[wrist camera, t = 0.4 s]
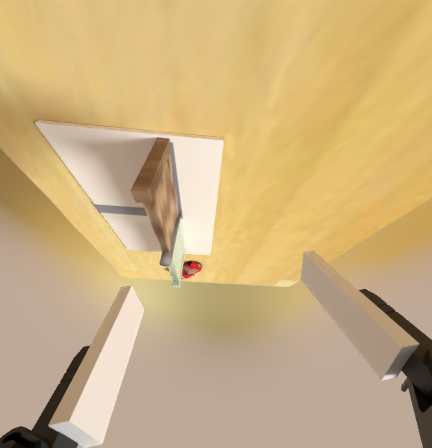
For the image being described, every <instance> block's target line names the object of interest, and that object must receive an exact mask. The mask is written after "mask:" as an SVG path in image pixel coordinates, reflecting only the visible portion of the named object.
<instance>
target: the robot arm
mask: <svg viewBox="0 0 432 448" xmlns="http://www.w3.org/2000/svg"><path fill="white" fill-rule="evenodd" d="M301 280H302V281H303V282H304V284H305V285H306V286H307V287H308V289H309V290H310V291H311V292H312V294H313V295H314V296H315V297H316V299H317V300H318V301H319V302H320V304H321V305H322V306H323V307H324V309H325V310H326V311H327V313H328V314H329V315H330V316H331V318H332V319H333V320H334V321H335V322H336V324H337V325H338V326H339V327H340V329H341V330H342V331H343V333H345V335H346V336H347V338H348V339H349V340H350V341H351V342H352V344H353V345H354V346H355V348H356V349H357V350H358V351H359V353H360V354H361V355H362V356H363V358H364V359H365V360H366V361H367V363H368V364H369V365H370V366H371V368H372V369H373V370H374V371H375V373H376V374H377V375H378V376H379V378H380V379H381V380H385V379H390V378H394V377H397V376H398V374H399V373H400V372H401V371H403V373H404V374H405V375H406V376H407V379H406V380H405V381H404V383H403V384H402V386H401V390H402V391H404V392H405V391H406V390H407V388H409V392H410V397H411V401H412V405H413V409H414V412H415V417H416V421H417V425H418V429H419V433H420V437H421V441H422V445H423V448H432V340H431V339H430V338H428V337H427V336H426V335H425V334H424V333H422V332H421V331H420V330H419V329H417V328H416V327H415V326H414V325H413V324H411V323H410V322H409V321H408V320H406V319H405V318H404V317H403V316H402V315H400V314H399V313H398V312H396V311H395V310H394V309H393V308H392V307H390V306H389V305H387V303H386V302H384V301H383V300H382V299H381V298H380V297H378V296H377V295H375V294H374V293H372V292H370V291H368V290H366V289H363V290H358V289H357V288H355V287H354V286H353V285H352V284H351V283H350V282H349V281H348V280H346V279H345V278H344V277H343V276H342V275H341V274H339V273H338V272H337V271H336V270H335V269H334V268H333V267H332V266H330V265H329V264H328V263H327V262H326V261H325V260H324V259H322V258H321V257H320V256H319V255H318V254H317V253H316V252H314V251H308V252H304V255H303V264H302V274H301ZM143 313H144V309H143V307H142V305H141V303H140V301H139V299H138V297H137V295H136V293H135V291H134V289H133V287H132V286H127V287H121V289H120V291H119V293H118V295H117V296H116V299H115V300H114V302H113V304H112V306H111V308H110V310H109V312H108V313H107V315H106V317H105V319H104V321H103V323H102V325H101V327H100V329H99V331H98V332H97V334H96V336H95V338H94V340H93V342H92V344H91V345H90V346H86V347H83V348H82V349H81V350H80V352H79V353H78V354H77V355H76V356H75V357H74V359H73V360H72V362H71V364H70V366H69V367H68V369H67V372H66V373H65V374H64V376H63V378H62V379H61V381H60V384H59V385H58V386H57V388H56V390H55V391H54V393H53V395H52V397H51V398H50V400H49V402H48V404H47V405H46V407H45V409H44V410H43V412H42V414H41V416H40V417H39V419H38V421H37V423H36V424H35V426H34V428H33V429H32V431H31V430H29V429H27V428H25V427H22V426H20V427H17V428H14V429H12V430H11V431H9V432H8V433H6V434H5V435H3V436H2V437H1V438H0V448H77V445H78V444H79V445H81V446H82V447H84V448H87V447H91V446H95V445H99V444H102V443H103V440H104V436H105V433H106V430H107V426H108V424H109V421H110V418H111V414H112V411H113V408H114V405H115V402H116V398H117V395H118V392H119V389H120V386H121V382H122V379H123V376H124V373H125V370H126V366H127V364H128V360H129V357H130V354H131V351H132V347H133V345H134V341H135V338H136V335H137V332H138V329H139V325H140V322H141V319H142V316H143Z"/></svg>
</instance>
